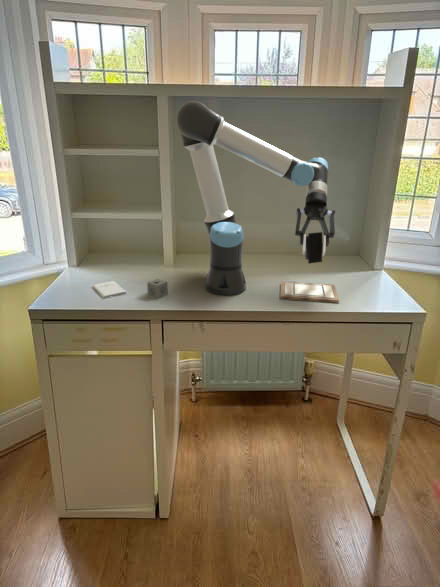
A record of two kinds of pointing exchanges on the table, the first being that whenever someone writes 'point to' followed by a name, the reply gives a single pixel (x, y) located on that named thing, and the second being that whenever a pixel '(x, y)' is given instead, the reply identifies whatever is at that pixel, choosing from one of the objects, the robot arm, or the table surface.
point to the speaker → (313, 247)
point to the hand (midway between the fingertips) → (313, 253)
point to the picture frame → (309, 292)
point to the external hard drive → (109, 289)
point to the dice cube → (157, 288)
